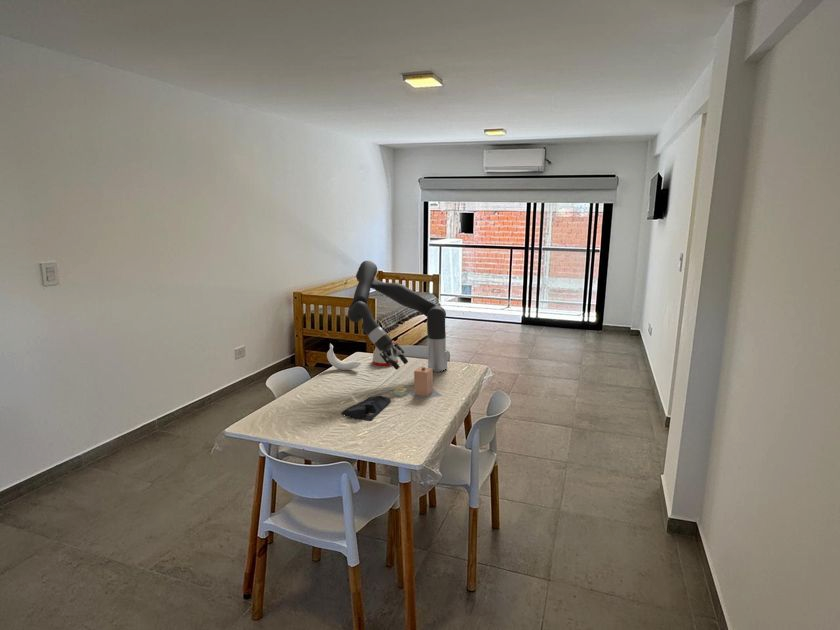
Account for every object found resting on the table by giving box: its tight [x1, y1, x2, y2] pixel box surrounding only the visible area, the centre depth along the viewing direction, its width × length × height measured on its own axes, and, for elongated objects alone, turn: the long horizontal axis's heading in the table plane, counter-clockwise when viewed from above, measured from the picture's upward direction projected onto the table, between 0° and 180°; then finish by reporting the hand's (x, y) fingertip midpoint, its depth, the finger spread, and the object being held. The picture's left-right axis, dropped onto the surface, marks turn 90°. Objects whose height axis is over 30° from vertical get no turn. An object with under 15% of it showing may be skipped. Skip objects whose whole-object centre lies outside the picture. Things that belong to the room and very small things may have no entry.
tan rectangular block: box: [413, 366, 434, 396], centre depth 222 cm, size 6×6×12 cm
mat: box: [407, 388, 443, 401], centre depth 224 cm, size 12×12×1 cm
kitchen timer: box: [372, 346, 399, 367], centre depth 272 cm, size 14×14×15 cm
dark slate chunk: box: [340, 394, 392, 421], centre depth 207 cm, size 15×22×5 cm
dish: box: [393, 387, 408, 397], centre depth 223 cm, size 4×4×3 cm
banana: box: [326, 343, 362, 371], centre depth 259 cm, size 5×19×15 cm, turn 79°
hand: (402, 365), depth 227 cm, fingers open, 8 cm apart
